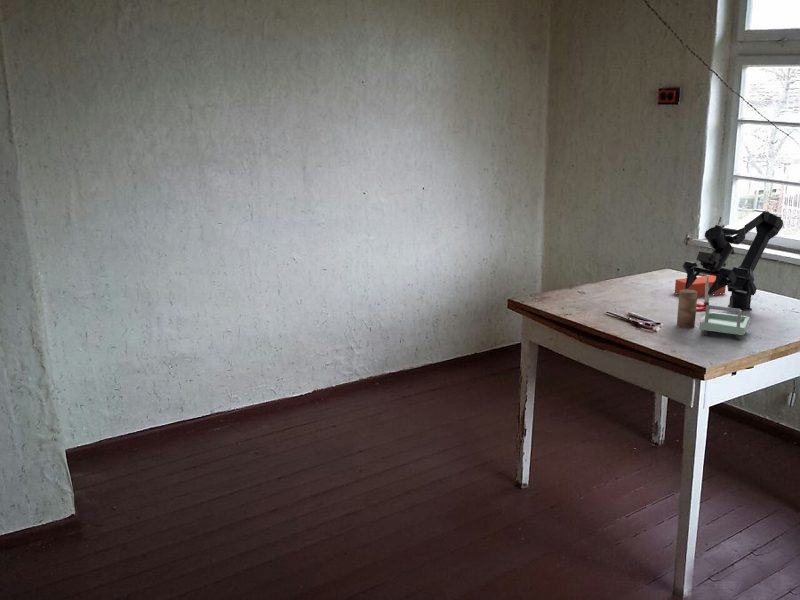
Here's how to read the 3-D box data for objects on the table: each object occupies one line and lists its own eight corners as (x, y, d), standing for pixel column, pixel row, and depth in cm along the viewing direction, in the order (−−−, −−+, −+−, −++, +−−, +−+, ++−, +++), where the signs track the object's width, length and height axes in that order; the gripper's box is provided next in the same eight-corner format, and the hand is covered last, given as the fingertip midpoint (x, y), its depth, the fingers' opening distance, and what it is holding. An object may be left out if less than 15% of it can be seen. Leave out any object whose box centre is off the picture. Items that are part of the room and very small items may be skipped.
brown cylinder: (690, 322, 272) (692, 289, 269) (697, 327, 267) (700, 293, 263) (673, 323, 272) (676, 289, 269) (681, 328, 266) (683, 294, 263)
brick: (688, 299, 302) (690, 284, 301) (674, 293, 311) (675, 279, 309) (725, 294, 308) (726, 280, 306) (710, 289, 316) (711, 275, 315)
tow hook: (684, 311, 287) (710, 311, 285) (685, 278, 283) (711, 278, 281) (681, 305, 295) (706, 305, 292) (682, 273, 291) (708, 273, 289)
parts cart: (705, 324, 270) (708, 294, 267) (748, 330, 263) (751, 299, 260) (698, 335, 258) (701, 304, 255) (743, 341, 251) (746, 310, 248)
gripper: (687, 239, 275) (666, 273, 272) (734, 247, 260) (712, 283, 257) (699, 257, 281) (678, 290, 278) (745, 266, 266) (724, 301, 263)
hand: (697, 291), depth 269 cm, fingers open, 9 cm apart
